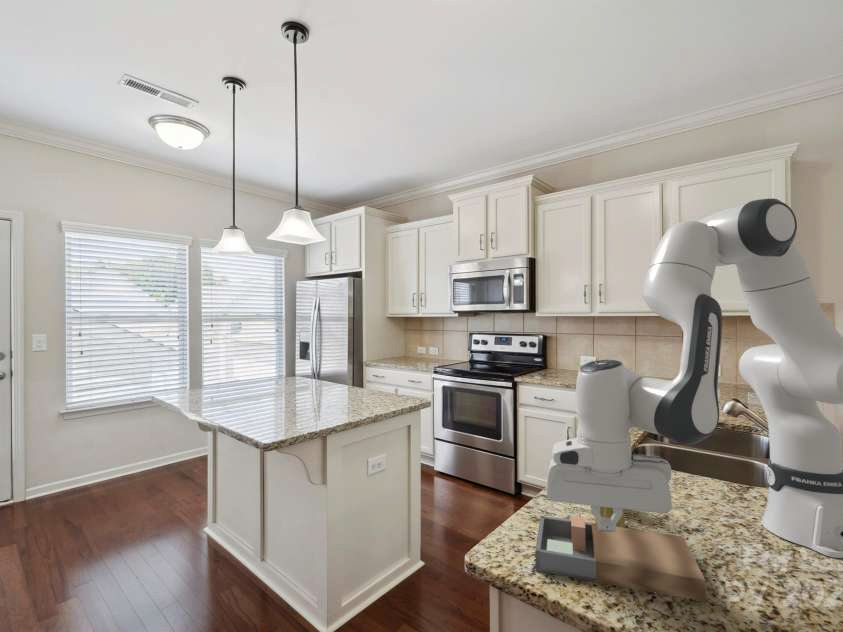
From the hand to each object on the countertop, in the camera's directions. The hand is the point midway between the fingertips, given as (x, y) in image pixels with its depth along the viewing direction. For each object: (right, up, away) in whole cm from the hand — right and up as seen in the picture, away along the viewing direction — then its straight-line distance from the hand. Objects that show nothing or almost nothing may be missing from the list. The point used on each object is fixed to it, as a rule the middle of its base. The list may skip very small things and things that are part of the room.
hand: (606, 529), depth 73 cm
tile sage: (-8, -5, +3) cm, 9 cm away
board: (+7, -7, +1) cm, 10 cm away
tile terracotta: (-1, -5, +8) cm, 9 cm away
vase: (+8, -8, +17) cm, 20 cm away
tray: (-6, -8, +5) cm, 11 cm away
